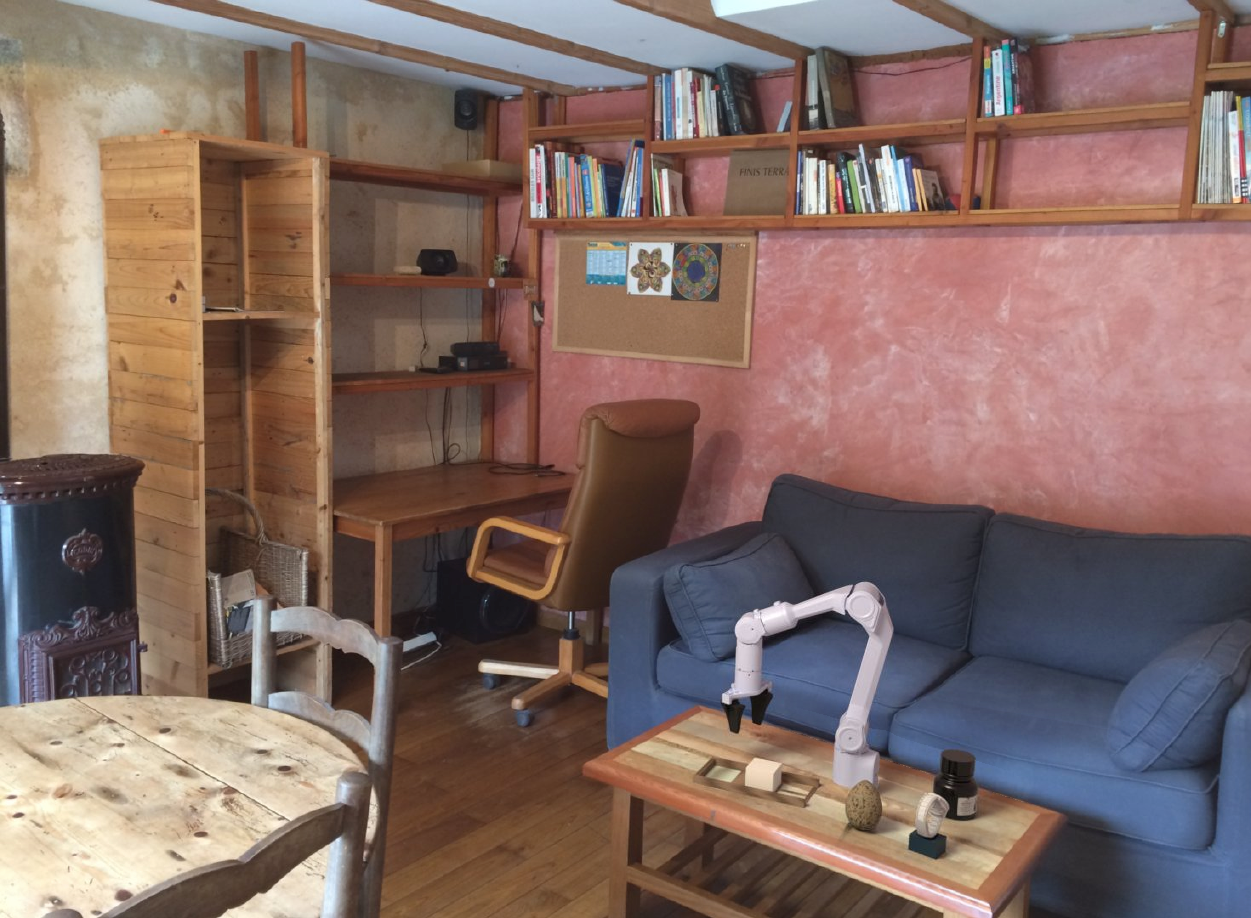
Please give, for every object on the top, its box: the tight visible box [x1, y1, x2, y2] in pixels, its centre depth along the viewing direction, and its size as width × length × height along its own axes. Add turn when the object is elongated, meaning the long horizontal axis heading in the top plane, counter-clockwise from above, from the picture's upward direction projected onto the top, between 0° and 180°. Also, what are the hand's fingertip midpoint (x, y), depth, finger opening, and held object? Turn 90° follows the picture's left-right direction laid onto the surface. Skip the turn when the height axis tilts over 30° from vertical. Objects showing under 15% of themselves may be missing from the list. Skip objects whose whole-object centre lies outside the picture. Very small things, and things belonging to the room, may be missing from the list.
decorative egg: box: [844, 780, 883, 831], centre depth 217 cm, size 7×7×10 cm
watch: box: [907, 792, 949, 860], centre depth 208 cm, size 6×8×11 cm
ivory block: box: [745, 757, 783, 792], centre depth 231 cm, size 6×6×4 cm
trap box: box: [692, 756, 821, 809], centre depth 232 cm, size 24×12×3 cm, turn 65°
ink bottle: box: [932, 748, 979, 821], centre depth 225 cm, size 10×9×12 cm
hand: (745, 727), depth 242 cm, fingers open, 7 cm apart
